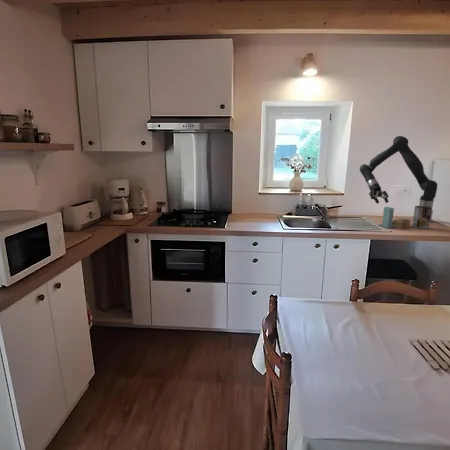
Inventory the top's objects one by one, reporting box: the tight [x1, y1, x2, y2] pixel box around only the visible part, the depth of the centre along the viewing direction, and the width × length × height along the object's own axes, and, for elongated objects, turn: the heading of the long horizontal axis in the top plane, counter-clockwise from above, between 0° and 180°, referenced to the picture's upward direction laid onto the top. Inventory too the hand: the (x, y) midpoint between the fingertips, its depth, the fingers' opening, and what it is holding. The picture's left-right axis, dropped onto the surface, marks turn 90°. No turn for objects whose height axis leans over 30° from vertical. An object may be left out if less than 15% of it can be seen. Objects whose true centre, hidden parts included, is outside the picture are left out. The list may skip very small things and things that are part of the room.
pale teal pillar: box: [381, 206, 395, 227], centre depth 242 cm, size 4×6×14 cm, turn 16°
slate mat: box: [377, 224, 397, 230], centre depth 243 cm, size 8×10×1 cm
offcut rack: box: [392, 217, 411, 229], centre depth 247 cm, size 10×14×6 cm
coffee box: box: [412, 205, 433, 230], centre depth 239 cm, size 9×6×16 cm
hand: (382, 202), depth 246 cm, fingers open, 8 cm apart
